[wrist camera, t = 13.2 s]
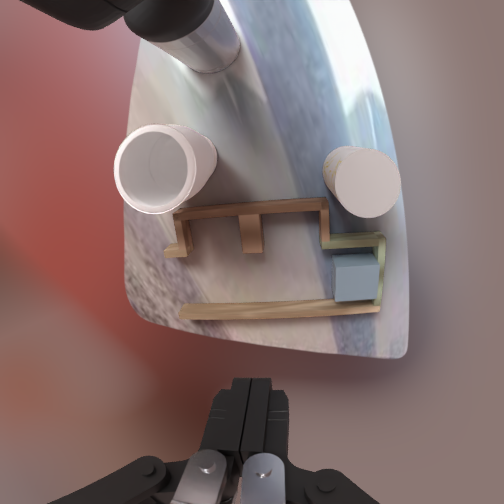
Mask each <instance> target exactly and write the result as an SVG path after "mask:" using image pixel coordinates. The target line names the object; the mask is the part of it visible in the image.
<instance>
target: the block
mask: <svg viewBox="0 0 504 504" xmlns="http://www.w3.org/2000/svg"><path fill="white" fill-rule="evenodd" d="M379 270H380V264H379V262H378V261H377V259H376V258H375V256H374V255H373V253H360V254H342V255H332V284H331V287H332V291H333V295H334V299H335V302H339V301H353V300H366V299H377V292H378V282H379Z"/></svg>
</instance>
